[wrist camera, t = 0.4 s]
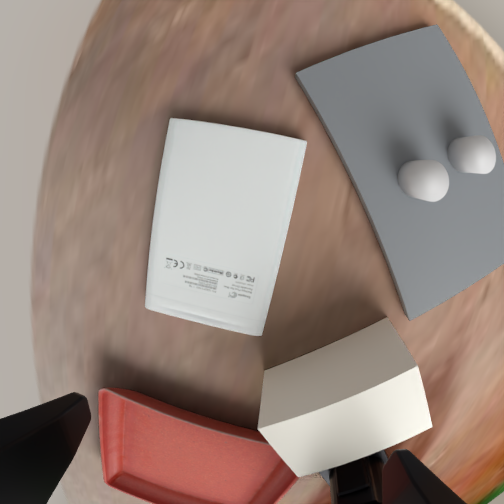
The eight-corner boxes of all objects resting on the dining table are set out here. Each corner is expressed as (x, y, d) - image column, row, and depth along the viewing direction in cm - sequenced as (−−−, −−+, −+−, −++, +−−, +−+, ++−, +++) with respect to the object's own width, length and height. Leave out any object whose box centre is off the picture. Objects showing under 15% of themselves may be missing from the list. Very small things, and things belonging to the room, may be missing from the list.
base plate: (516, 245, 17) (543, 258, 14) (405, 314, 19) (423, 339, 16) (431, 29, 14) (453, 10, 11) (295, 77, 16) (297, 58, 13)
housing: (387, 316, 20) (417, 365, 14) (407, 375, 21) (432, 427, 15) (264, 370, 22) (257, 428, 16) (297, 420, 23) (298, 477, 17)
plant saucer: (317, 427, 23) (320, 455, 20) (255, 510, 28) (252, 531, 25) (114, 363, 23) (96, 385, 20) (113, 465, 28) (103, 484, 25)
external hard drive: (305, 143, 18) (263, 327, 21) (177, 120, 18) (150, 299, 22) (308, 140, 16) (261, 339, 20) (168, 116, 17) (142, 309, 20)
